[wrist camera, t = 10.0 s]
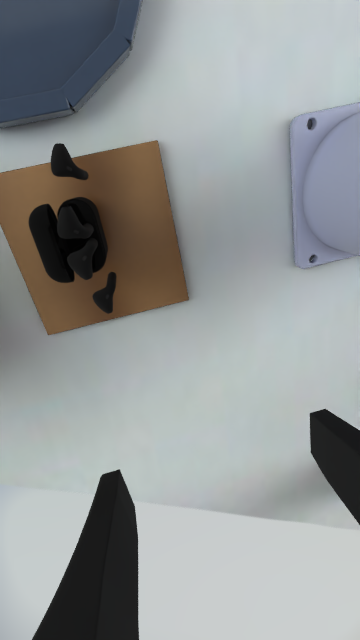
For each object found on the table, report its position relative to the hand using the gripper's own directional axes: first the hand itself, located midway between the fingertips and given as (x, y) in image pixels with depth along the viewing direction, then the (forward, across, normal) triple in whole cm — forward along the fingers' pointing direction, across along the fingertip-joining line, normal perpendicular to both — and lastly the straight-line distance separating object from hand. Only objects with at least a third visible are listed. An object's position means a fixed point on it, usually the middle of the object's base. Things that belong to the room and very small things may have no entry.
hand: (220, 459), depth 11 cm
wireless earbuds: (+9, +4, -8) cm, 13 cm away
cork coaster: (+9, +3, -7) cm, 12 cm away
